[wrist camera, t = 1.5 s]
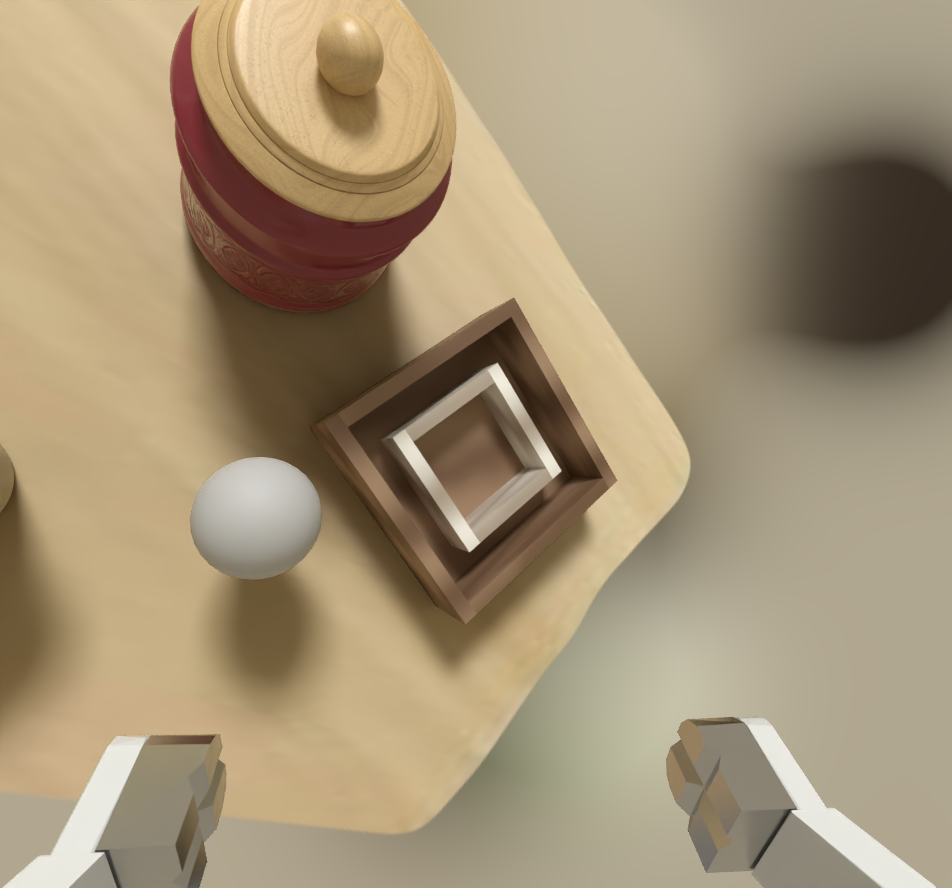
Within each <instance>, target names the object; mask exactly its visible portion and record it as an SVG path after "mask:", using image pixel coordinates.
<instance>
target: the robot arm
mask: <svg viewBox="0 0 952 888" xmlns="http://www.w3.org/2000/svg"><path fill="white" fill-rule="evenodd" d="M678 734H679V736H680V738H681V740H680V741H678V742H677V743H676V744H674V745H673V746H672V747H671V748H670V750H669V754H668V756H667V759H666V766H667V777H668V781H669V786H670V789H671V791H672V794H673V796H674V799H675V801H676V803H677V804H678V805H679V806H680V807H681V808H682V809H683V810H684V811H685V812H686V813H687V814H688V815H689V816H690V819H689V826H688V832H689V834H690V836H691V839H692V841H693V844H694V846H695V848H696V851H697V852H698V855H699V857H700V860H701V862H702V864H703V866H704V869H705V871H706V872H707V873H711V872H712V873H713V872H734V871H753V872H752V875H753V876H754V877H755V878H756V880H757V881H758V882H759V883H760V884H761V885H762V886H763V887H764V888H936V887H935V886H934V885H933V884H931V883H930V882H929V881H928V880H926V879H925V878H924V877H922V876H921V875H920V874H919V873H917V872H916V871H915V870H913V869H912V868H911V867H910V866H908V865H907V864H906V863H904V862H903V861H902V860H900V859H899V858H898V857H897V856H895V855H894V854H893V853H891V852H890V851H889V850H888V849H886V848H885V847H884V846H882V845H881V844H880V843H879V842H877V841H876V840H875V839H874V838H872V837H871V836H870V835H868V834H867V833H866V832H865V831H863V830H862V829H861V828H859V827H858V826H857V825H856V824H854V823H853V822H852V821H850V820H849V819H848V818H846V817H845V816H844V815H843V814H841V813H840V812H838V811H837V810H836V809H835V808H826V806H825V805H824V804H823V802H822V800H821V799H820V797H819V796H818V794H817V793H816V791H815V790H814V788H813V787H812V785H811V784H810V782H809V781H808V779H807V778H806V776H805V775H804V773H803V772H802V770H801V769H800V767H799V766H798V764H797V763H796V761H795V760H794V758H793V757H792V755H791V754H790V752H789V751H788V749H787V748H786V746H785V745H784V743H783V742H782V740H781V739H780V737H779V736H778V734H777V733H776V731H775V730H774V728H773V727H772V725H771V724H770V723H769V722H768V721H767V720H765V719H764V718H762V717H743V718H734V717H725V718H706V719H688V720H685V721H684V722H682V723H681V725H680V727H679V729H678ZM221 750H222V742H221V738H220V734H205V735H156V736H154V735H139V736H116V737H115V739H114V740H113V741H112V742H111V743H110V744H109V745H108V747H107V748H106V749H105V751H104V753H103V755H102V757H101V759H100V761H99V763H98V765H97V766H96V768H95V770H94V772H93V774H92V776H91V778H90V780H89V782H88V783H87V785H86V787H85V789H84V791H83V793H82V795H81V797H80V799H79V801H78V802H77V804H76V806H75V808H74V810H73V812H72V814H71V816H70V818H69V820H68V821H67V823H66V825H65V827H64V829H63V831H62V833H61V835H60V837H59V839H58V841H57V842H56V844H55V846H54V848H53V850H52V852H51V854H50V855H42V856H38V857H36V858H35V859H34V860H33V861H32V862H31V863H30V864H29V865H27V866H26V867H25V868H24V869H23V870H22V871H21V872H20V873H18V874H17V875H16V876H15V877H14V878H13V879H12V880H10V881H9V882H8V883H7V884H6V885H5V886H4V887H3V888H199V887H200V884H201V880H202V877H203V874H204V870H205V867H206V863H207V857H206V852H205V846H204V842H205V841H206V840H207V839H208V838H209V836H210V835H211V834H212V833H213V832H214V831H215V830H216V829H217V826H218V822H219V818H220V815H221V811H222V807H223V801H224V796H225V790H226V768H225V764H224V763H223V762H221V761H220V760H219V756H220V753H221Z"/></svg>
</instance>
